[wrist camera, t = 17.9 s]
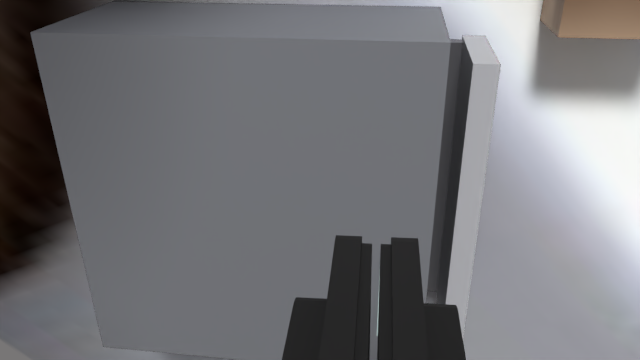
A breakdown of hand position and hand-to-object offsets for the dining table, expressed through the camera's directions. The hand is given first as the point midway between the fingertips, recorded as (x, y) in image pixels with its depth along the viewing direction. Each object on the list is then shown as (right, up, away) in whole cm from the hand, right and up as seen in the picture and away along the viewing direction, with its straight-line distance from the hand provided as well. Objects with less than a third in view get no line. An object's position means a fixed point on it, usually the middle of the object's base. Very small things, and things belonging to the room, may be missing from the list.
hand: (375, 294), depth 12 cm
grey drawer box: (-3, +4, +19) cm, 20 cm away
